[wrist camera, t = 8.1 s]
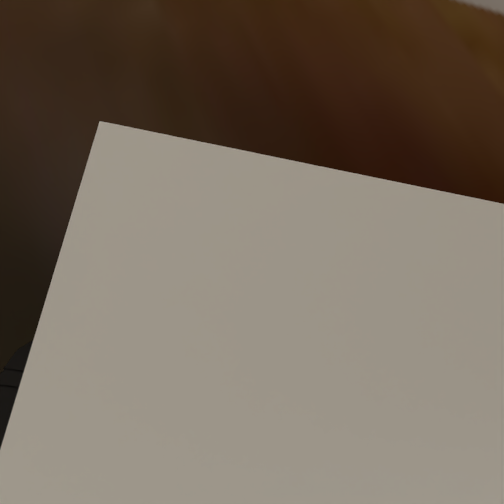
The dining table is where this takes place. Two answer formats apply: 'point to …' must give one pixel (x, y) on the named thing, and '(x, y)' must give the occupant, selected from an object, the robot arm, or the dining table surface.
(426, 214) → the beige block
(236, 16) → the dining table surface
